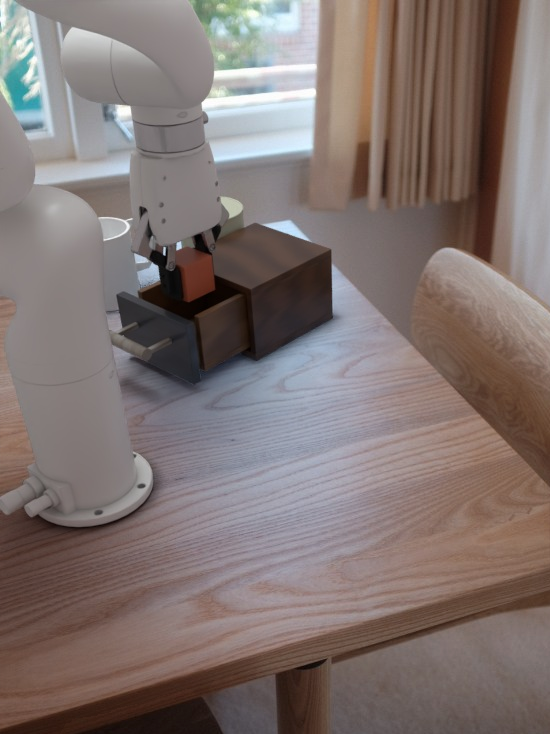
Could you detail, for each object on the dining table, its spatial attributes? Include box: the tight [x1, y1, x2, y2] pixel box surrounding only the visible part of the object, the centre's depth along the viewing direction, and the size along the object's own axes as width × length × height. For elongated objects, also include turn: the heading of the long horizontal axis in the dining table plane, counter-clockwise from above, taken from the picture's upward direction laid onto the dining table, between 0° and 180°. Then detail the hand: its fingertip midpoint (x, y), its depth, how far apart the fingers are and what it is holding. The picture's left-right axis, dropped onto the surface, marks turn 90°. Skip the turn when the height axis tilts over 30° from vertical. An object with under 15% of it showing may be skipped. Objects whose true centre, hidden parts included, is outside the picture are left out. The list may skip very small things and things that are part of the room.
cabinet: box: [212, 222, 334, 362], centre depth 119 cm, size 15×14×10 cm
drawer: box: [109, 280, 251, 386], centre depth 112 cm, size 18×13×8 cm
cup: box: [97, 216, 153, 312], centre depth 126 cm, size 8×12×10 cm
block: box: [176, 246, 215, 302], centre depth 108 cm, size 4×4×4 cm
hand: (189, 288), depth 110 cm, fingers closed on block, 4 cm apart
